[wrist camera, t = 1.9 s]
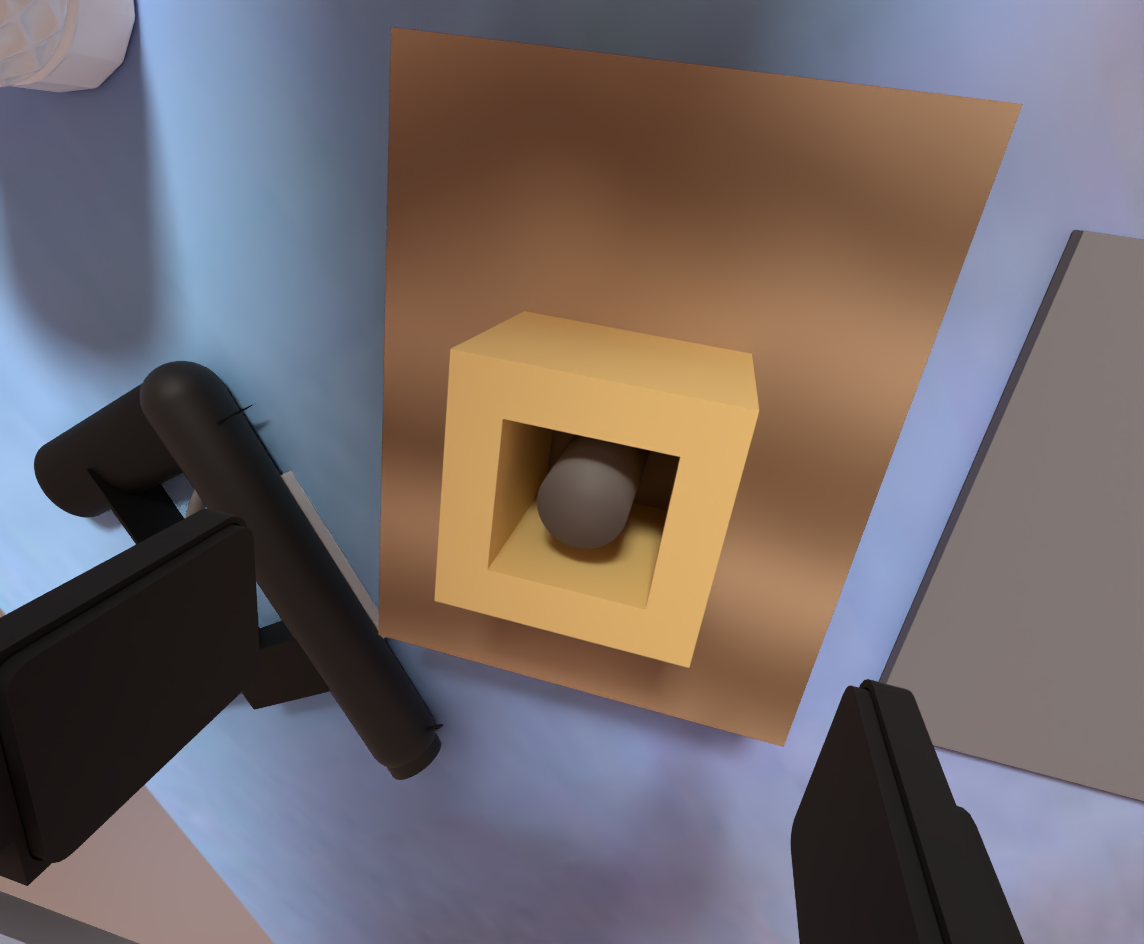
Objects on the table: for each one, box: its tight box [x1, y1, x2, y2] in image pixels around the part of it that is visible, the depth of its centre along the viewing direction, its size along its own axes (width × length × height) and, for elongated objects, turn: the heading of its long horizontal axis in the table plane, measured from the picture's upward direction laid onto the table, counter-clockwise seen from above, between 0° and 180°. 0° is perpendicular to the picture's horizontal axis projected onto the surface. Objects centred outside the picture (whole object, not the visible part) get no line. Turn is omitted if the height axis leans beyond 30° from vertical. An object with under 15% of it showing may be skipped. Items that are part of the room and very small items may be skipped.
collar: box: [434, 311, 759, 668], centre depth 16 cm, size 6×6×5 cm
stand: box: [378, 27, 1022, 747], centre depth 18 cm, size 18×14×10 cm
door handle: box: [34, 361, 443, 780], centre depth 30 cm, size 3×20×16 cm
